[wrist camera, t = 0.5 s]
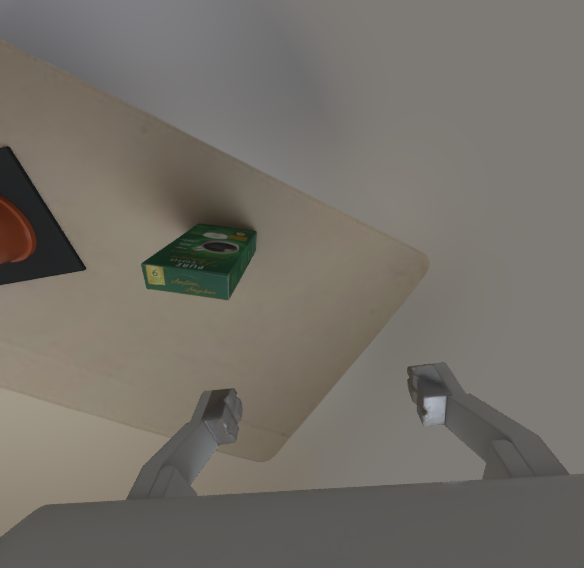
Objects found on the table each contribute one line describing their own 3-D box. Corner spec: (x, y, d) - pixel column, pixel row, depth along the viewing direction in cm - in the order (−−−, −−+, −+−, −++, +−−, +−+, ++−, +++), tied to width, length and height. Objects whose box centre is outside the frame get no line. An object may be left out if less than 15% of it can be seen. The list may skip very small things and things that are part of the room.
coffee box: (197, 242, 34) (142, 291, 23) (196, 222, 33) (137, 262, 21) (256, 251, 35) (232, 303, 23) (257, 230, 33) (232, 275, 22)
